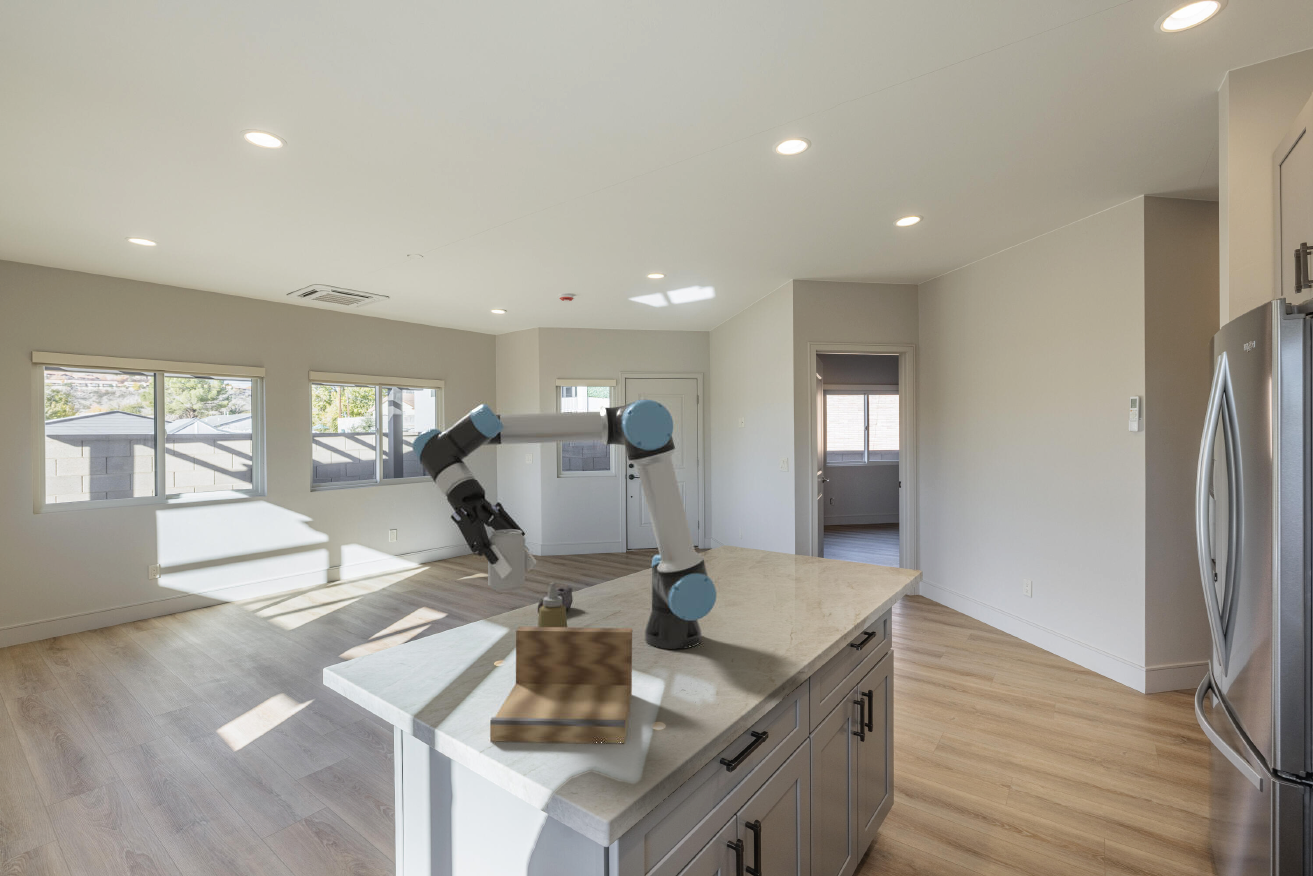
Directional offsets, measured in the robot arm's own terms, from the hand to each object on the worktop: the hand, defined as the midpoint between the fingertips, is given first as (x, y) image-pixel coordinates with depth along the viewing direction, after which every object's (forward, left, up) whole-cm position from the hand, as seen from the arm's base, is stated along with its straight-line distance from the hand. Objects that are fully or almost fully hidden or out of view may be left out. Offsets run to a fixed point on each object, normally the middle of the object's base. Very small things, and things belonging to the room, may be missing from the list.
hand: (520, 570), depth 123 cm
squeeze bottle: (-2, -23, -27) cm, 36 cm away
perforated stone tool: (+4, -58, -27) cm, 64 cm away
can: (+3, -1, -4) cm, 6 cm away
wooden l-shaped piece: (-11, +8, -27) cm, 30 cm away
